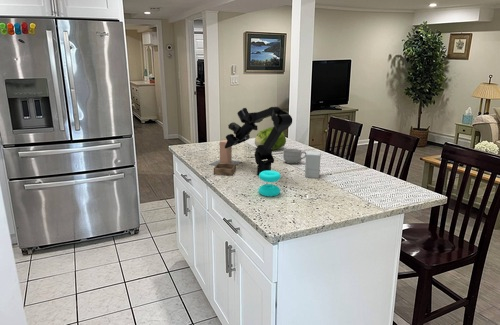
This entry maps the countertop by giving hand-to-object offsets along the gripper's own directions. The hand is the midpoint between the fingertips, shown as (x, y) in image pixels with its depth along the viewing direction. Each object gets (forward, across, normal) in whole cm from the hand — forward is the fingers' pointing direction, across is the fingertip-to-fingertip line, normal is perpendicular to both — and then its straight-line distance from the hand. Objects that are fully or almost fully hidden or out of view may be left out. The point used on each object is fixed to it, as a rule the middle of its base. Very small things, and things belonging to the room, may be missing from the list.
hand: (229, 146), depth 217 cm
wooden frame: (+3, +15, +12) cm, 19 cm away
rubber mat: (+10, 0, +6) cm, 11 cm away
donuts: (-21, +32, +37) cm, 53 cm away
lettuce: (+5, -46, +10) cm, 48 cm away
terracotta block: (+9, 0, +6) cm, 11 cm away
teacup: (-14, -23, +30) cm, 41 cm away
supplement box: (-27, -4, +43) cm, 51 cm away
